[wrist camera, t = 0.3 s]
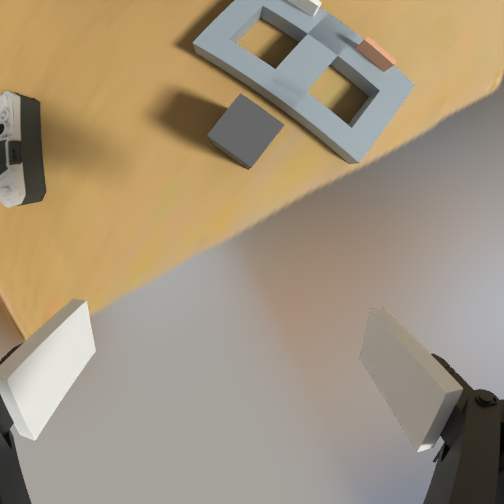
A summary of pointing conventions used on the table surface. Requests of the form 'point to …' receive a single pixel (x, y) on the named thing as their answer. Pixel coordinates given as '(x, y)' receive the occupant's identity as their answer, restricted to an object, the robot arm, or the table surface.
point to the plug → (244, 131)
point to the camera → (20, 150)
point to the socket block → (310, 69)
